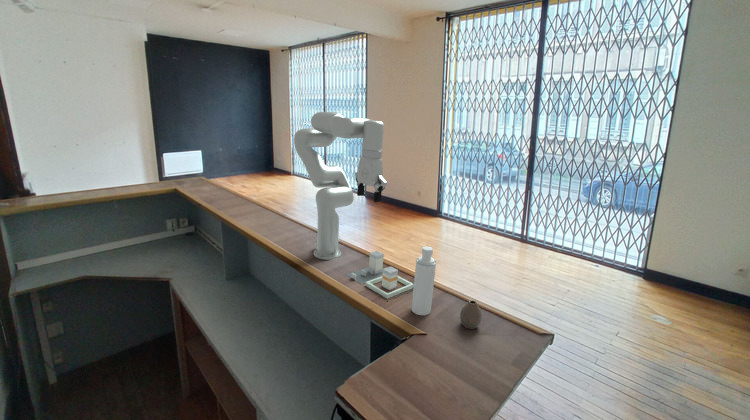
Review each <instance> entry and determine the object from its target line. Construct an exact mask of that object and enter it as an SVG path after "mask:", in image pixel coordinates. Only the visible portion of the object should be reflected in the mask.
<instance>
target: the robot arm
mask: <svg viewBox="0 0 750 420" xmlns="http://www.w3.org/2000/svg"><path fill="white" fill-rule="evenodd" d="M310 124H311V127H309V128H302V129H299V130H297V131H296V132H295V133H294V136H293V144H294V145H293V146H294V149H295V151H296V153H297V155H298V157H299V158H300V160H301V162H302V163H303V166H304V168H305V170H306V172H307V175H308V176H309V180H310V181H311V184H312V185H313V186H314V187H315V188H318V189H319V188H321V189H319V190H317V192H316V194H315V202H316V210H317V211H316V212H317V232H316V233H317V234H316V235H317V237H316V239H317V241H316V242H314V243H313V244H314V246H316V249H315V250H313V256H314V257H315V258H317V259H320V260H323V261H324V260H325V261H326V260H327V261H328V260H329V261H330V260H334V259H339V258H340V257H341V256H342V251H341V250H340V249H339V237H340V236H339V234H340V230H339V228H340V218H339V214H338V213H337V212H336V209H338V208H339V209H340V208H343V207H348V206H350V205H352V204H353V202H354V200H355V198H354V197H355V194H354V192H353V188H352V186H351V185H350V182H349V180H348V177H347V176H346V172H344V170H343V169H342V167H340V166H338V165H336V164H335V165H327V164H326V163H325V162H324V160H323V158H322V156H321V154H320V153H318V152H317V151H316V150H315V149H313V148H326V147H329V146H330V145H332V144H333V143H334V141H335V140H336V138H342V139H362V144H361V145H362V146H361V156H360V157H359V162H358V165H357V172H355V173H354V177H355V181H356V186H357V191H356V196H357V197H361V196H365V191H366V189H365V188H366V186H370V187H373V188H374V190H375V191H374V192H373V202H374V203H378V202H379V203H380V202H381V201H382V192H383V191H384V190H385V189H386V186H387V184H388V181H386V179H385V178H384V177H383V174H384V171H383V169H384V167H383V166H384V164H383V144H384V133H385V132H384V130H385V124H384V122H383V121H380V120H373V119H370V118H366V117H344V115H342V114H341V113H339V112H335V111H318V112H316V113H314V114H313V115H312V116H311V119H310ZM365 185H366V186H365Z"/></svg>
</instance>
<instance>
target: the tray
mask: <svg viewBox="0 0 750 420" xmlns="http://www.w3.org/2000/svg"><path fill="white" fill-rule="evenodd" d="M380 282H382V276H381V277H378V278H376V279H373V280H370V281H367V282H365V287H367V288H368V289H370V290H372V291H374V292H375V293H377V294H378V295H380V296H382V297H383V298H385V299H387V300H391V299H393V298H396V297H398V298H400V297H399V296H401V297H402V295H403V296H405V295H408V294H410V293H413V288H414V282H413V283H412V282H411V281H408V280H407V279H405V278H403V277H401V276H400V275H398V279H397V282H399V283H401V284H403V285H405V286H402V287H400V288H397V289H394V290H392V291H391V292H386V291H384V290H383V289H381V288H380V287H378V286H376V285H375V284H378V283H380ZM411 289H412V290H411ZM404 292H405V293H404ZM402 293H403V294H402ZM407 293H408V294H407ZM390 298H391V299H390ZM396 299H397V298H396ZM391 301H392V300H391Z"/></svg>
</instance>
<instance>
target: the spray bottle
mask: <svg viewBox="0 0 750 420" xmlns="http://www.w3.org/2000/svg"><path fill="white" fill-rule="evenodd" d="M433 252H434V249H433V247H431V246H428V245H427V246H422V248H421V256H419V257H417V258H416V259H415V260H416V261H415V270H414V279H413V284H414V288H412V290H413V291H412V301H411V312H413V313H414V314H415V315H419V316H427V315H429V314H431V310H432V301H433V294H434V284H435V278H436V276H435V275H436V268H437V260H435V259H434V258H433V257H432V256H433Z"/></svg>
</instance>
